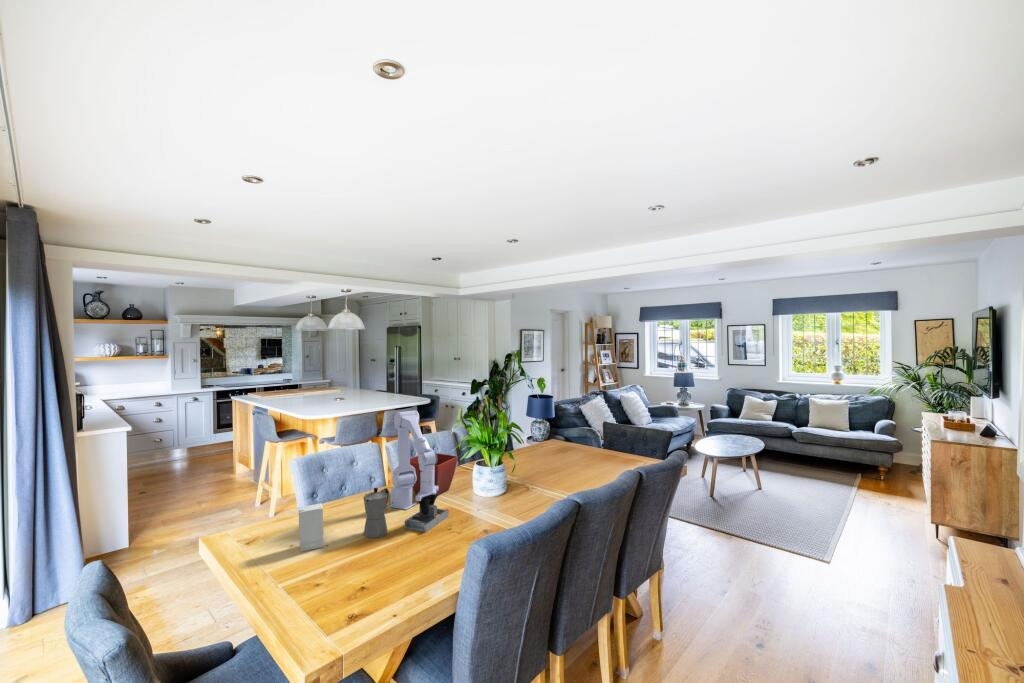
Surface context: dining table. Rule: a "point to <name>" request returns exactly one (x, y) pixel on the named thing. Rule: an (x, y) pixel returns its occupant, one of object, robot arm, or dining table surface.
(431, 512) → the block
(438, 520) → the rack
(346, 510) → the dining table surface
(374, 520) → the coffeepot
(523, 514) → the dining table surface
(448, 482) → the plant pot
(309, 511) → the skincare box
